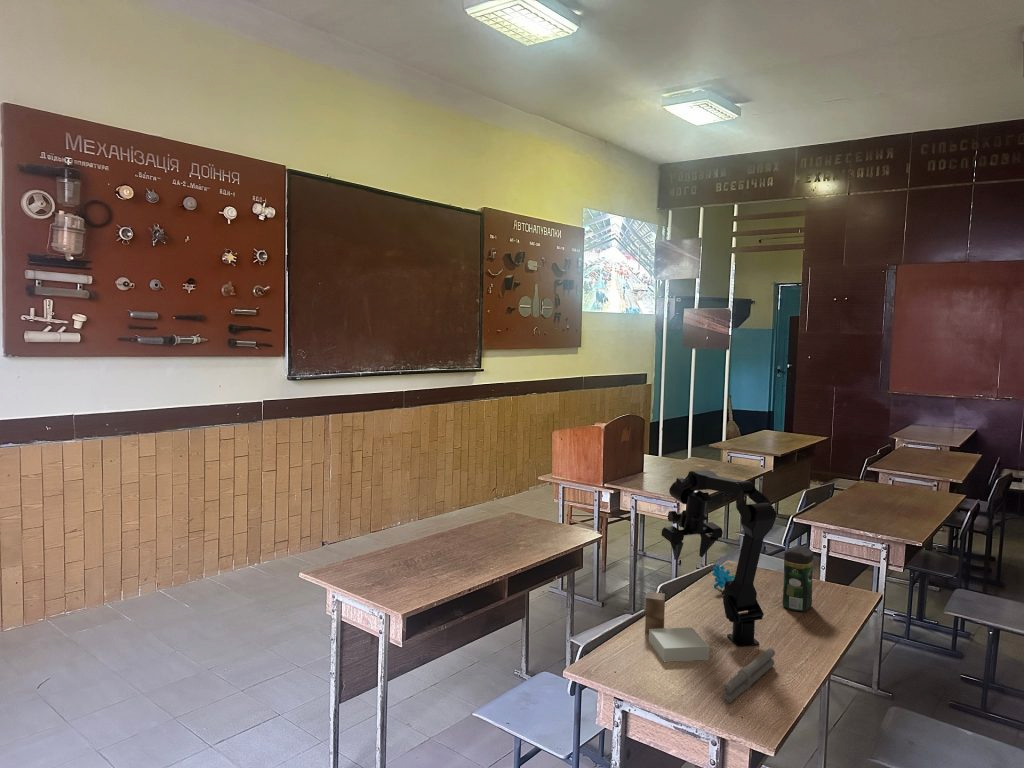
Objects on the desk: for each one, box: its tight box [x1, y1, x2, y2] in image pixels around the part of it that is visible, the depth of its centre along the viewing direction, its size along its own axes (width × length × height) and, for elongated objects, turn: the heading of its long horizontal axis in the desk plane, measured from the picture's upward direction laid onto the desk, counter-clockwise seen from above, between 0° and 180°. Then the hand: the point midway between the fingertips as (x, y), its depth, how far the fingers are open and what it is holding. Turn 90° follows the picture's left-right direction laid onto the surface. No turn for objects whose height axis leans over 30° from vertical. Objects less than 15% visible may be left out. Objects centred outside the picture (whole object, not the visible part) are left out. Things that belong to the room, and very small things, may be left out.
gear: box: [712, 564, 735, 589], centre depth 230 cm, size 11×6×10 cm
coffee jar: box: [781, 544, 814, 612], centre depth 215 cm, size 10×8×19 cm
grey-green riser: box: [648, 626, 710, 662], centre depth 184 cm, size 12×12×4 cm
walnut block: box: [644, 591, 666, 634], centre depth 196 cm, size 5×5×10 cm
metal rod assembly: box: [722, 647, 776, 705], centre depth 166 cm, size 26×3×5 cm, turn 138°
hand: (688, 558), depth 212 cm, fingers open, 9 cm apart
